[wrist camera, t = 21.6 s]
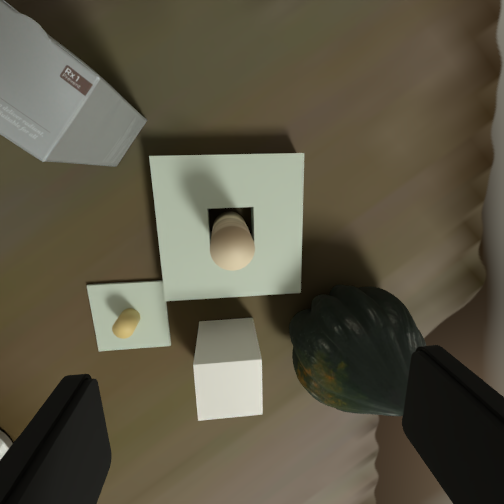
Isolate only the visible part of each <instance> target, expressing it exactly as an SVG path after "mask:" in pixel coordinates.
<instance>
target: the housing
mask: <svg viewBox="0 0 504 504" xmlns="http://www.w3.org/2000/svg"><path fill="white" fill-rule="evenodd" d="M193 367H194V378H195V390H196V401H197V413H198V421H200V420H210V419H220V418H231V417H241V416H251V415H261V414H263V412H262V358H261V354H260V349H259V344H258V340H257V335H256V330H255V326H254V321H253V318H241V319H227V320H212V321H199V327H198V335H197V342H196V349H195V356H194V364H193Z"/></svg>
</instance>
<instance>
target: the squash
mask: <svg viewBox="0 0 504 504" xmlns="http://www.w3.org/2000/svg"><path fill="white" fill-rule="evenodd" d="M289 333H290V338H291V342H292V344H293V364H294V368H295V372H296V375H297V378H298V379H299V381H300V383H301V384H302V386H303V387H304V388H305V389H306V390H307V391H308V392H309V393H310V394H311V395H312V396H313V397H314V398H315V399H316V400H318V401H319V402H321V403H323V404H325V405H327V406H331V407H334V408H336V409H338V410H341V411H344V412H350V413H359V414H377V415H388V416H403V411H404V404H405V397H406V390H407V383H408V376H409V369H410V362H411V356H412V353H413V352H415V351H416V349H417V348H418V347H420V346H426V343H425V340H424V338H423V336H422V335H421V333H420V331H419V330H418V328H417V327H416V324H415V322H414V320H413V318H412V316H411V315H410V313H409V311H408V309H407V308H406V307H405V305H404V304H403V303H402V302H401V301H400V300H399V299H398V298H396V297H395V296H394V295H392V294H391V293H389V292H387V291H385V290H383V289H380V288H376V287H360V288H356V287H354V286H345V285H336V286H335V287H333V288H332V290H331V291H330V295H318V296H316V297H315V298H314V299H313V301H312V305H311V309H308V310H303V311H300V312H298V313H297V314H296V315H295V316H294V317H293V318H292V320H291V322H290V325H289Z"/></svg>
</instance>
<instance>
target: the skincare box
mask: <svg viewBox="0 0 504 504" xmlns="http://www.w3.org/2000/svg"><path fill="white" fill-rule="evenodd" d="M146 121H147V119H146V118H145V117H143V116H142V115H141V114H140V113H139V112H138V111H137V110H136V109H135V108H134V107H132V106H131V105H130V104H129V103H128V102H127V101H126V100H125V99H124V98H123V97H122V96H121V95H120V94H119V93H118V92H117V91H116V90H115V89H114V88H113V87H112V86H111V85H110V84H109V83H108V82H106V81H105V80H104V79H103V78H102V77H101V76H100V75H99V74H97V73H96V72H95V71H94V70H93V69H92V68H91V67H89V66H88V65H87V64H86V63H84V62H83V61H82V60H81V59H79V58H78V57H77V56H75V55H74V54H73V53H72V52H70V51H69V50H68V49H66V48H65V47H64V46H63V45H61V44H60V43H59V42H57V41H56V40H55V39H53V38H52V37H51V36H50V35H48V34H47V33H46V32H45V31H44V30H43V29H42V27H41V26H40V25H39V24H38V23H37V22H36V21H34V20H33V19H31V18H30V17H28V16H26V15H24V14H21V13H20V12H18V11H17V10H16V9H14V8H13V7H12V6H11V5H9V4H8V3H7V2H6V1H4V0H0V134H1V135H2V136H4V137H5V138H7V139H8V140H10V141H11V142H13V143H14V144H16V145H17V146H19V147H21V148H22V149H24V150H25V151H27V152H28V153H30V154H31V155H33V156H34V157H36V158H38V159H39V160H41V161H42V162H44V161H50V162H65V163H76V164H89V165H102V166H115V167H116V166H117V165H118V163H119V162H120V161H121V159H122V157H123V156H124V154H125V153H126V151H127V150H128V148H129V147H130V145H131V144H132V142H133V141H134V139H135V138H136V136H137V135H138V133H139V132H140V130H141V129H142V127H143V126H144V124H145V123H146Z"/></svg>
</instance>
